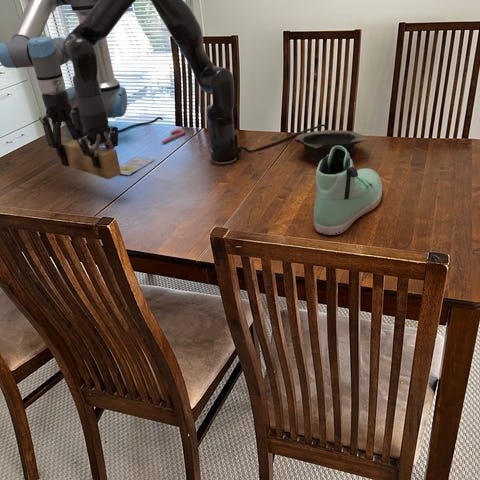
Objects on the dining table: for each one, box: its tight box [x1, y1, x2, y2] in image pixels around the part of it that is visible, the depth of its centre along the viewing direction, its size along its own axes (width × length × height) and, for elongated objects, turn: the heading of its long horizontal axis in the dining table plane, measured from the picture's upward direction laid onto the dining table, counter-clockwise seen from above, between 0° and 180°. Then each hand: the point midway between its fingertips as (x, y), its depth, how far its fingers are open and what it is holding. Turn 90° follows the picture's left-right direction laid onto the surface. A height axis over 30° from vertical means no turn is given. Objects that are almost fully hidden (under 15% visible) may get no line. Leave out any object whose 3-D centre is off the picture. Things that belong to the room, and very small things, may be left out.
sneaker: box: [313, 146, 383, 236], centre depth 133 cm, size 14×35×20 cm, turn 152°
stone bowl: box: [294, 129, 367, 165], centre depth 171 cm, size 25×25×9 cm
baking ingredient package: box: [119, 157, 154, 176], centre depth 178 cm, size 9×1×15 cm
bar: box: [57, 137, 122, 180], centre depth 153 cm, size 25×5×8 cm, turn 53°
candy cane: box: [161, 128, 186, 144], centre depth 202 cm, size 6×15×2 cm, turn 145°
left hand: (72, 162), depth 160 cm, fingers closed on bar, 5 cm apart
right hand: (104, 164), depth 149 cm, fingers closed on bar, 5 cm apart
